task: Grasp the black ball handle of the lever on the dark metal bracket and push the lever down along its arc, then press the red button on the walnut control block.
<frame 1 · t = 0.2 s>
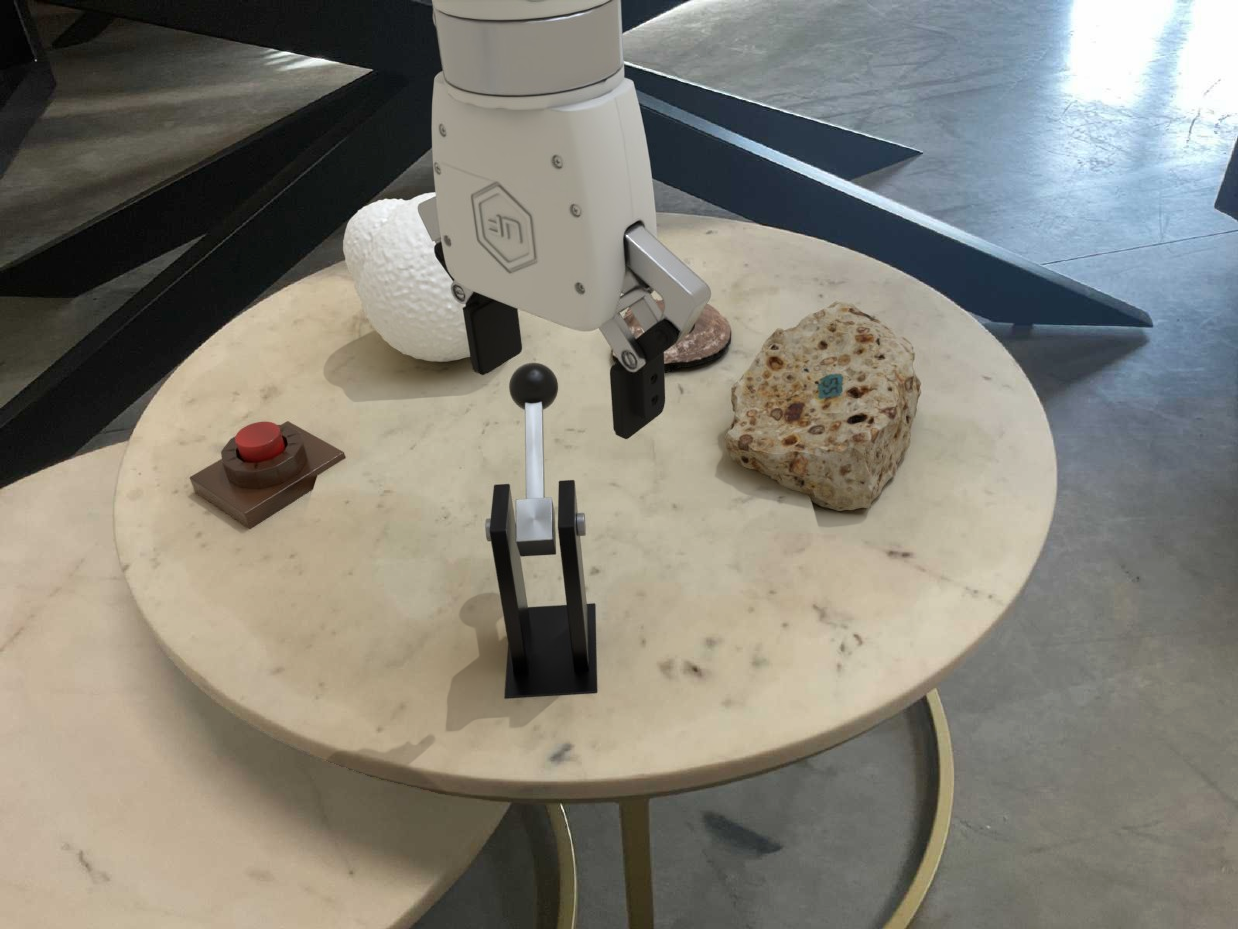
hand: (565, 391, 53), 24 cm above the table, tool pointing down, fingers open, 9 cm apart
decorative orb: (445, 349, 104), on the table
button: (260, 442, 85), point 4 cm above the table, slide at 0.1 cm
lever: (534, 453, 65), point 14 cm above the table, hinge at 25.0°
rock: (822, 436, 89), on the table
bracket: (553, 660, 70), on the table
shell: (672, 343, 102), on the table
control block: (272, 480, 88), on the table
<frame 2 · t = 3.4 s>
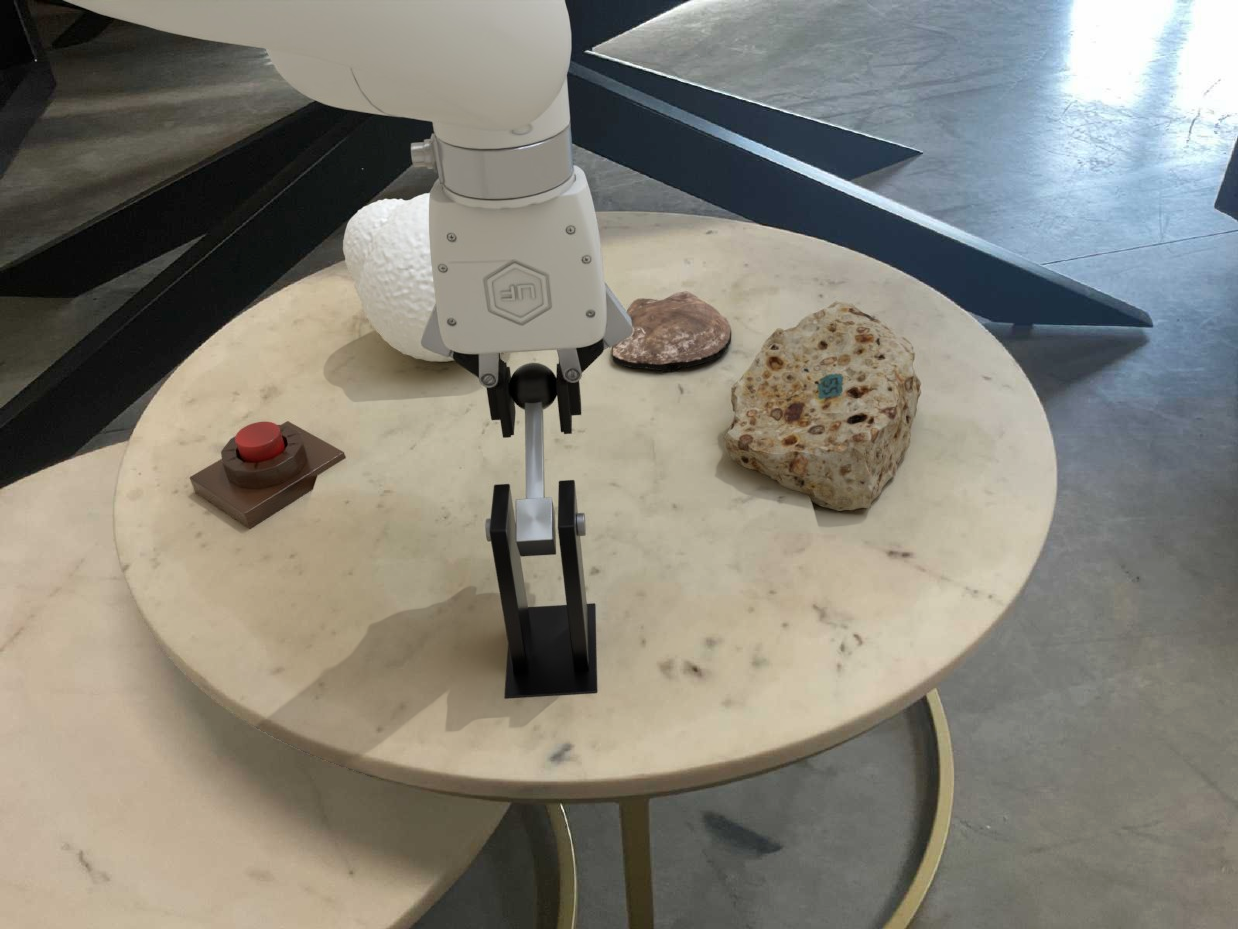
hand: (537, 421, 69), 13 cm above the table, tool pointing down, fingers closed on lever, 3 cm apart
lever: (534, 453, 65), point 14 cm above the table, hinge at 25.0°, touching gripper
everything else where it was.
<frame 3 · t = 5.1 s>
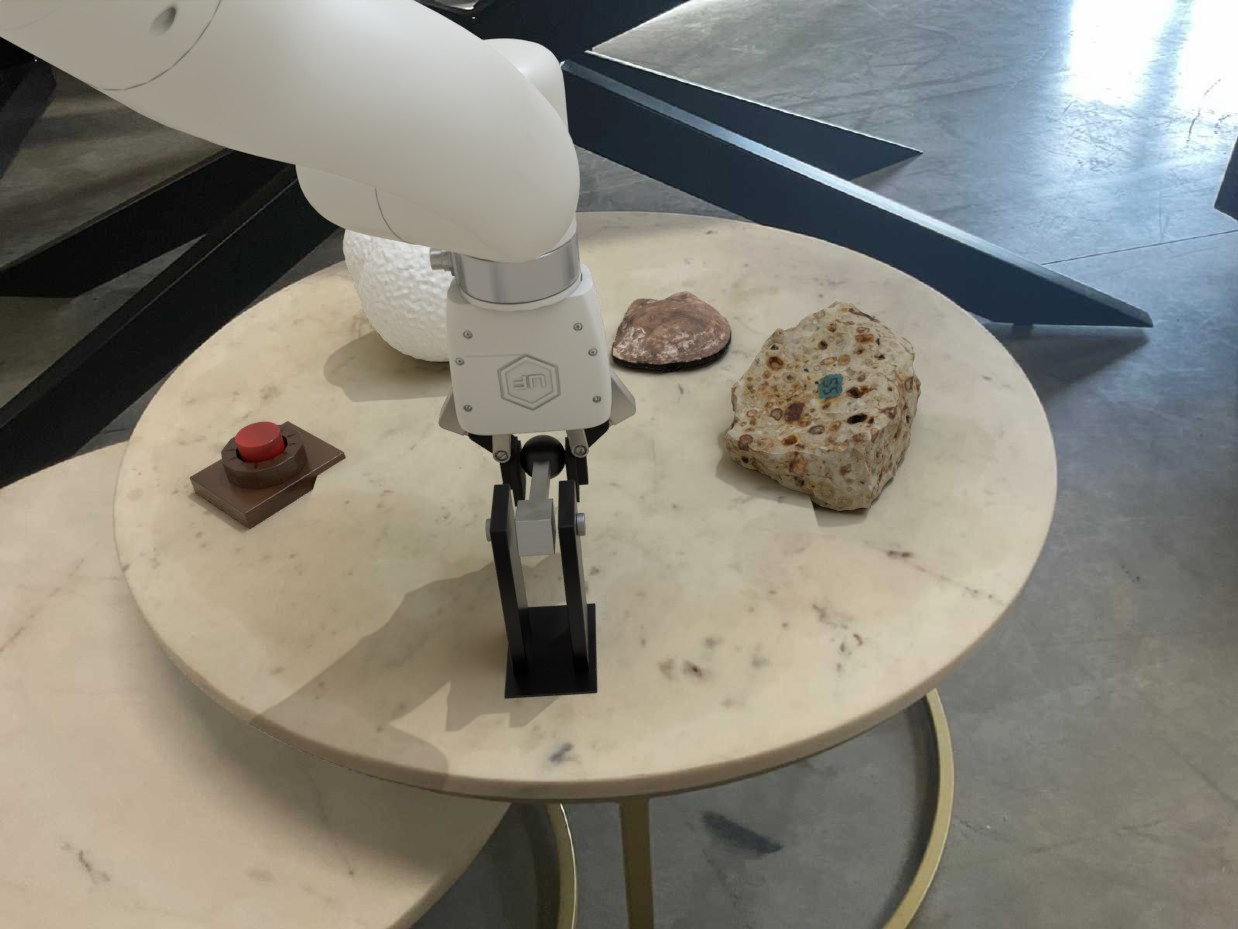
hand: (547, 490, 74), 7 cm above the table, tool pointing down, fingers closed on lever, 3 cm apart
lever: (539, 489, 67), point 11 cm above the table, hinge at -12.2°, touching gripper
everything else where it was.
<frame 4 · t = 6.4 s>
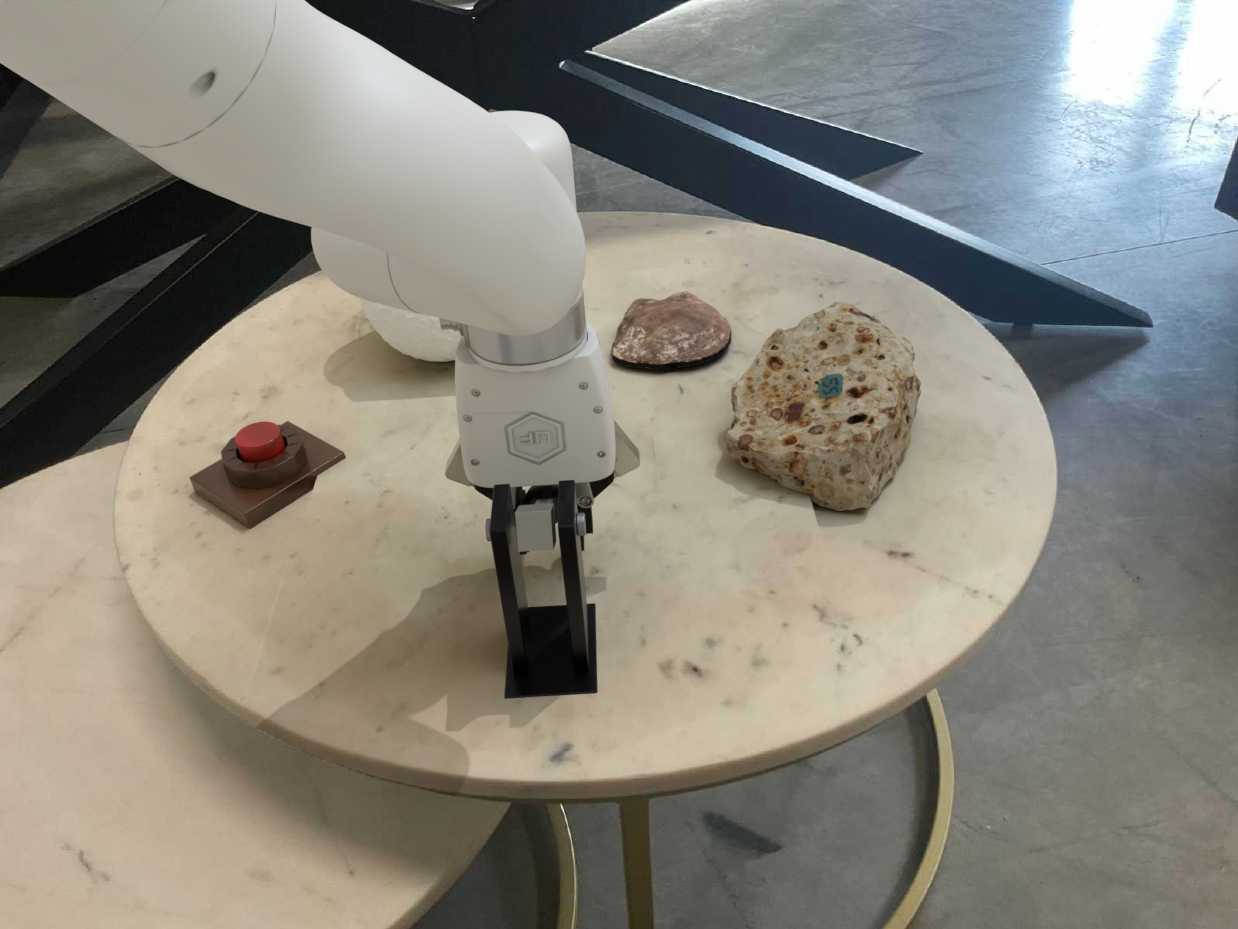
hand: (552, 538, 75), 3 cm above the table, tool pointing down, fingers open, 3 cm apart
lever: (541, 513, 68), point 9 cm above the table, hinge at -31.2°
everything else where it was.
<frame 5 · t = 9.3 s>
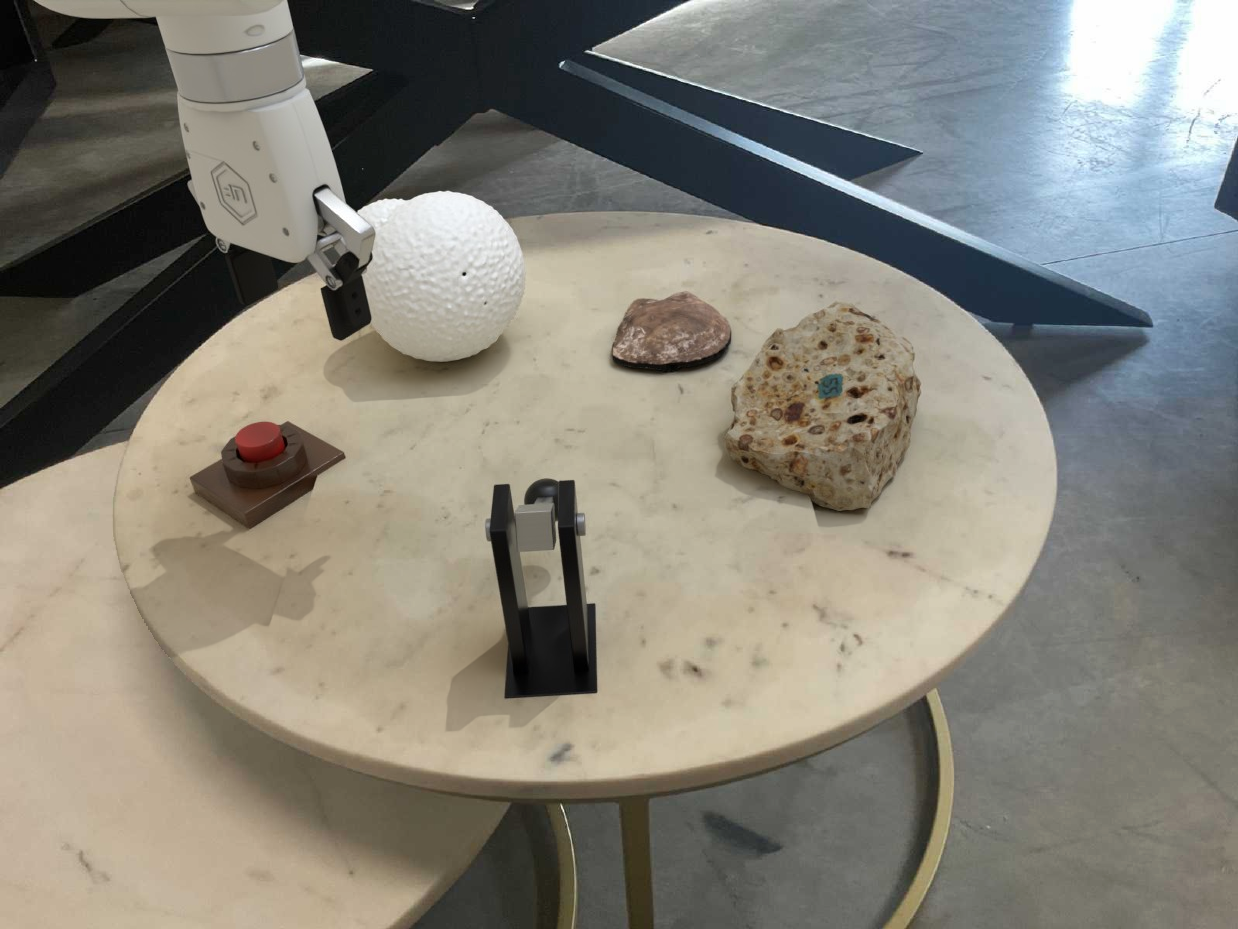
hand: (305, 313, 73), 18 cm above the table, tool pointing down, fingers open, 9 cm apart
lever: (541, 512, 68), point 9 cm above the table, hinge at -30.5°
everything else where it was.
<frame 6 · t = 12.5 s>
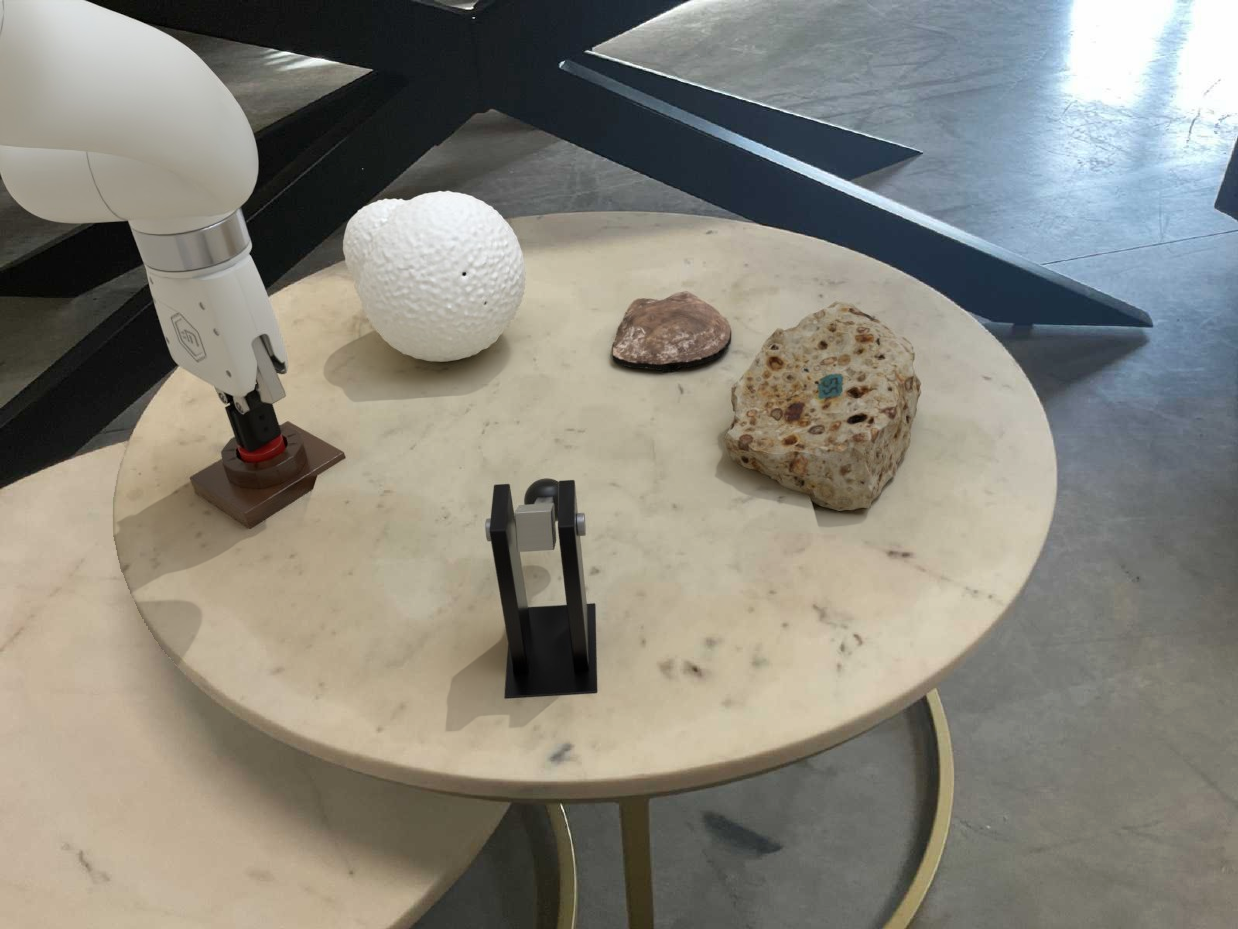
hand: (260, 440, 85), 4 cm above the table, tool pointing down, fingers closed
button: (262, 450, 86), point 3 cm above the table, slide at -0.7 cm, touching gripper
everything else where it was.
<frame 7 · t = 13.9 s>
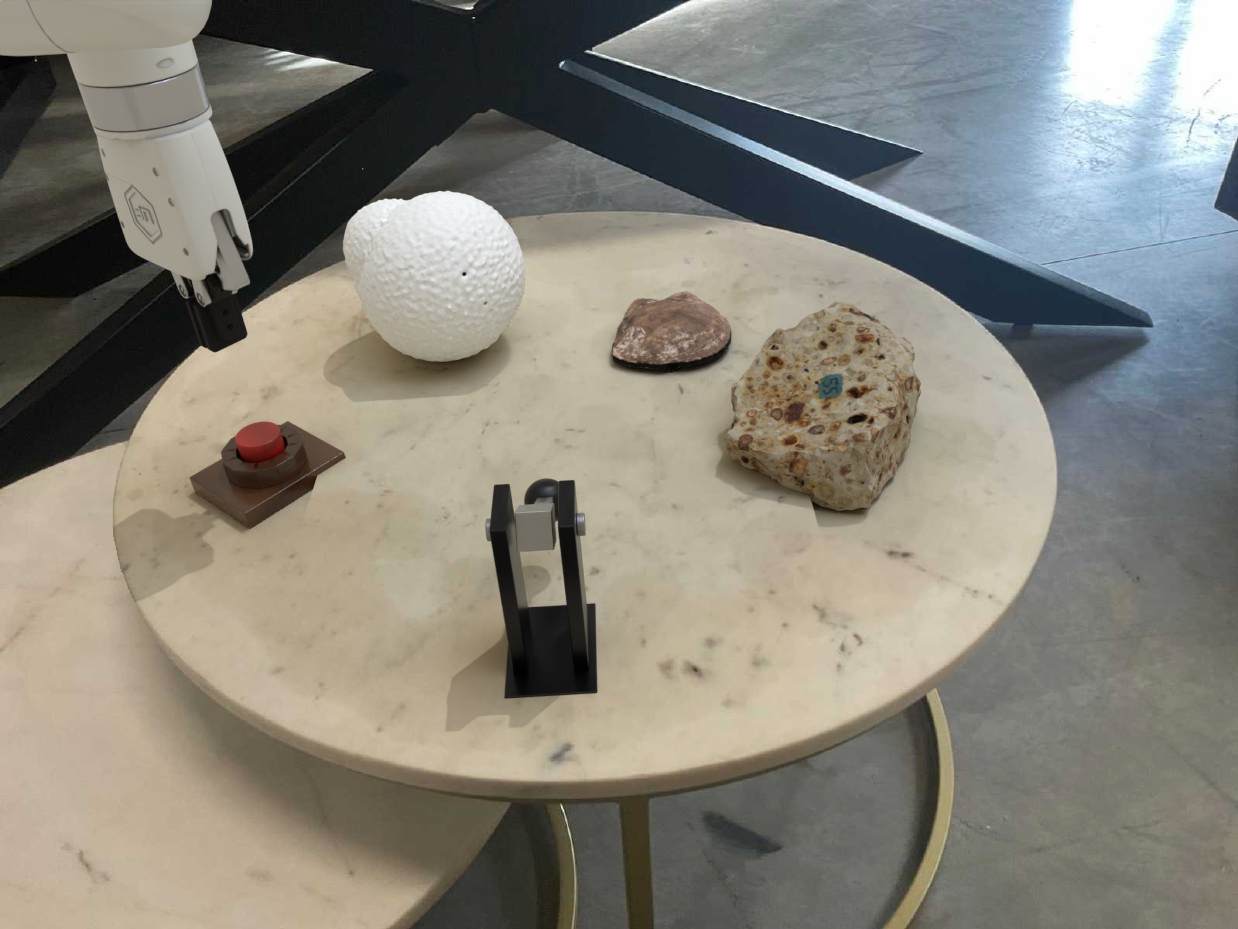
hand: (224, 341, 79), 14 cm above the table, tool pointing down, fingers closed
button: (260, 442, 85), point 4 cm above the table, slide at 0.1 cm
everything else where it was.
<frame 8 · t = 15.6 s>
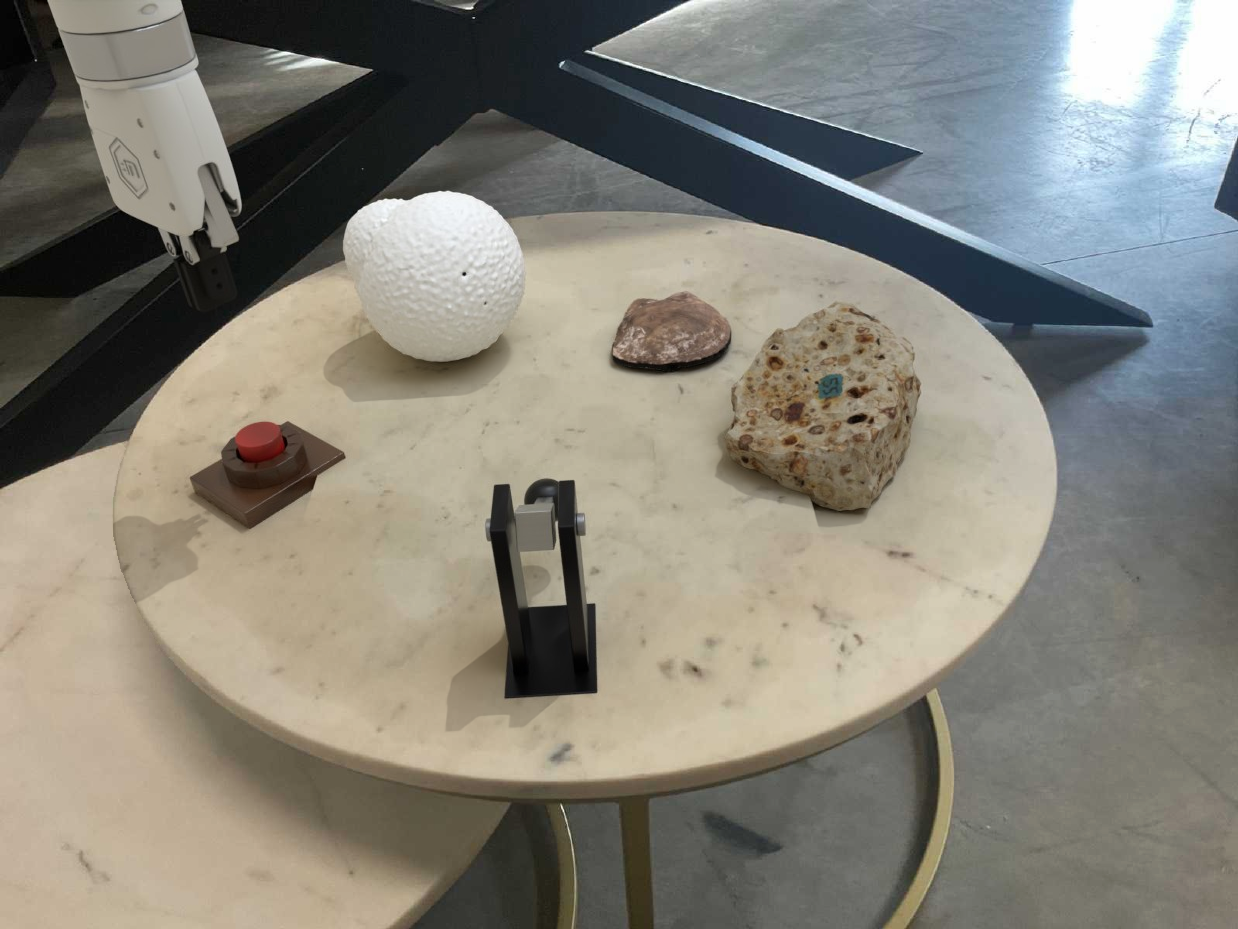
hand: (214, 301, 77), 17 cm above the table, tool pointing down, fingers closed
nothing on the table moved.
at the end: lever at -30° (first picture: +25°); button pushed in 1.0 cm at the most during the clip, back to where it started at the end; button slide at 0.1 cm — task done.
